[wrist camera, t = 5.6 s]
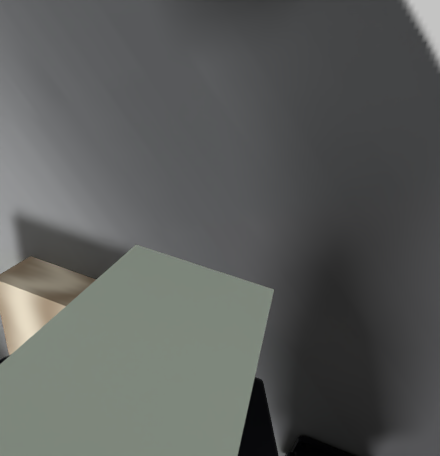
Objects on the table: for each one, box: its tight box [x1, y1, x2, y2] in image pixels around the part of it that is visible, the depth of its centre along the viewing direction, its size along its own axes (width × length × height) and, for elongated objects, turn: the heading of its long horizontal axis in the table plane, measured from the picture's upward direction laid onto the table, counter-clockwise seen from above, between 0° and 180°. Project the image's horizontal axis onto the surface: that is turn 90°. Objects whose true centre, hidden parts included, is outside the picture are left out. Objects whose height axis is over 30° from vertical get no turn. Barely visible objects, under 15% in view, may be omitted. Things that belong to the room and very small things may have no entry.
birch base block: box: [0, 256, 96, 355], centre depth 28 cm, size 12×12×4 cm
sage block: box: [0, 245, 274, 456], centre depth 8 cm, size 4×4×6 cm
